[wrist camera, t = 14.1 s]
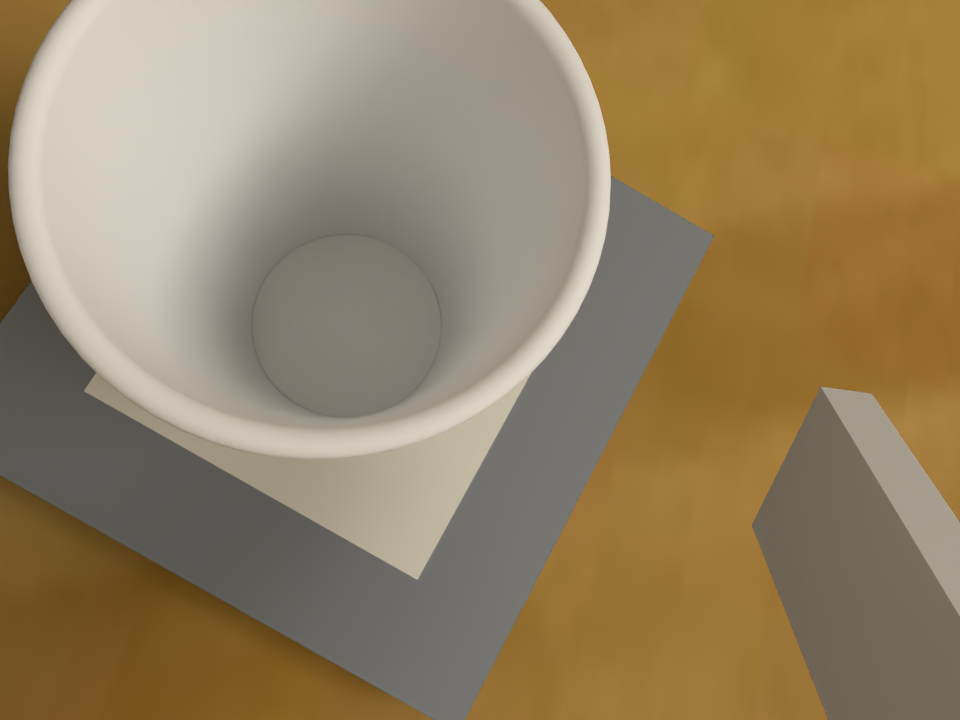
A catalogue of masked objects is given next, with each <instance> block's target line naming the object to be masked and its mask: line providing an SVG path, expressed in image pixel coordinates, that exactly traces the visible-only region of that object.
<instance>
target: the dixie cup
mask: <svg viewBox="0 0 960 720" xmlns="http://www.w3.org/2000/svg"><path fill="white" fill-rule="evenodd" d="M8 183H9V198H10V205H11V212H12V219H13V225H14V228H15V232H16V236H17V240H18V244H19V248H20V252H21V254H22V257H23V259H24V262H25V265H26V267H27V270H28V273H29V275H30V278H31V281H32V283H33V285H34V287H35V289H36V291H37V293H38V295H39V297H40V299H41V301H42V303H43V304H44V306H45V308H46V310H47V312H48V313H49V315H50V316H51V318H52V319H53V321H54V322H55V324H56V325H57V327H58V328H59V330H60V332H61V333H62V335H63V336H64V337H65V338H66V339H67V341H68V342H69V343H70V344H71V346H72V347H73V348H74V349H75V350H76V352H77V353H78V354H79V355H80V357H81V358H82V359H83V360H84V361H85V362H86V363H87V364H88V365H89V366H90V367H91V368H92V369H93V370H94V371H95V372H96V373H97V374H98V375H99V376H100V377H101V378H102V379H103V380H104V381H106V382H107V383H108V384H109V385H111V386H112V387H113V388H114V389H116V390H117V391H118V392H119V393H121V394H122V395H123V396H124V397H126V398H127V399H128V400H130V401H131V402H133V403H134V404H136V405H137V406H139V407H140V408H142V409H143V410H145V411H146V412H148V413H150V414H151V415H153V416H154V417H156V418H158V419H160V420H162V421H164V422H166V423H168V424H170V425H172V426H173V427H175V428H177V429H179V430H181V431H183V432H186V433H188V434H191V435H193V436H196V437H199V438H201V439H204V440H206V441H209V442H211V443H214V444H218V445H221V446H225V447H228V448H232V449H235V450H239V451H243V452H248V453H254V454H259V455H265V456H270V457H278V458H290V459H302V460H318V459H343V458H352V457H361V456H368V455H373V454H378V453H382V452H387V451H392V450H397V449H400V448H403V447H406V446H409V445H412V444H416V443H419V442H422V441H425V440H428V439H430V438H432V437H435V436H437V435H439V434H442V433H444V432H446V431H449V430H451V429H453V428H455V427H457V426H459V425H461V424H462V423H464V422H466V421H468V420H470V419H472V418H473V417H475V416H477V415H479V414H480V413H482V412H483V411H485V410H486V409H488V408H489V407H491V406H492V405H493V404H495V403H496V402H498V401H499V400H501V399H502V398H504V397H505V396H506V395H507V394H508V393H509V392H511V391H512V390H513V389H514V388H515V387H517V386H518V385H519V384H520V383H521V382H522V381H524V380H525V379H526V378H527V377H528V376H529V375H530V374H531V373H532V372H533V371H534V370H535V368H536V367H537V366H538V365H539V364H540V363H541V362H542V361H543V360H544V359H545V358H546V357H547V355H548V354H549V353H550V352H551V350H552V349H553V348H554V347H555V345H556V344H557V343H558V341H559V340H560V339H561V338H562V336H563V335H564V333H565V332H566V330H567V328H568V327H569V325H570V324H571V322H572V320H573V319H574V317H575V316H576V314H577V312H578V310H579V308H580V306H581V304H582V302H583V300H584V298H585V296H586V294H587V292H588V290H589V288H590V285H591V282H592V280H593V277H594V274H595V272H596V269H597V266H598V264H599V260H600V256H601V252H602V248H603V245H604V241H605V236H606V230H607V223H608V217H609V209H610V189H611V175H610V156H609V149H608V142H607V136H606V130H605V126H604V122H603V118H602V114H601V110H600V106H599V103H598V100H597V97H596V94H595V92H594V89H593V86H592V83H591V80H590V78H589V76H588V74H587V72H586V70H585V68H584V65H583V63H582V61H581V59H580V57H579V55H578V53H577V52H576V50H575V48H574V47H573V45H572V43H571V42H570V40H569V38H568V37H567V35H566V33H565V32H564V30H563V29H562V28H561V26H560V25H559V24H558V22H557V21H556V19H555V18H554V17H553V15H552V14H551V13H550V11H549V10H548V9H547V8H546V7H545V6H544V4H543V3H542V2H541V1H540V0H71V1H70V2H69V4H68V5H67V6H66V7H65V8H64V10H63V11H62V13H61V14H60V15H59V17H58V18H57V20H56V21H55V22H54V24H53V25H52V27H51V28H50V29H49V31H48V33H47V35H46V36H45V38H44V40H43V42H42V44H41V45H40V47H39V49H38V51H37V52H36V54H35V56H34V59H33V61H32V63H31V66H30V68H29V70H28V73H27V75H26V77H25V80H24V82H23V86H22V89H21V92H20V95H19V99H18V102H17V105H16V108H15V114H14V119H13V124H12V129H11V135H10V145H9V158H8Z"/></svg>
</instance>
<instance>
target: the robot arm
mask: <svg viewBox="0 0 960 720" xmlns="http://www.w3.org/2000/svg"><path fill="white" fill-rule="evenodd" d="M752 527H753V529H754V532H755V535H756V537H757V540H758V542H759V545H760V547H761V550H762V552H763V555H764V557H765V560H766V563H767V565H768V568H769V570H770V573H771V575H772V578H773V580H774V583H775V585H776V588H777V591H778V593H779V596H780V598H781V601H782V603H783V606H784V608H785V611H786V613H787V616H788V619H789V621H790V624H791V626H792V629H793V631H794V634H795V636H796V639H797V642H798V644H799V647H800V649H801V652H802V654H803V657H804V659H805V662H806V664H807V667H808V670H809V672H810V675H811V677H812V680H813V682H814V685H815V687H816V690H817V692H818V695H819V698H820V700H821V703H822V705H823V708H824V710H825V713H826V715H827V718H828V720H960V522H959V521H958V519H957V518H956V516H955V515H954V513H953V512H952V510H951V509H950V507H949V506H948V504H947V503H946V502H945V500H944V499H943V497H942V496H941V494H940V493H939V491H938V490H937V488H936V487H935V485H934V484H933V483H932V481H931V480H930V478H929V477H928V475H927V474H926V472H925V471H924V469H923V468H922V467H921V465H920V464H919V462H918V461H917V459H916V458H915V456H914V455H913V453H912V452H911V450H910V449H909V448H908V446H907V445H906V443H905V442H904V440H903V439H902V437H901V436H900V434H899V433H898V431H897V430H896V429H895V427H894V426H893V424H892V423H891V421H890V420H889V418H888V417H887V415H886V414H885V412H884V411H883V410H882V408H881V407H880V405H879V404H878V402H877V401H876V399H875V398H874V396H873V395H872V394H869V393H862V392H855V391H848V390H841V389H834V388H826V387H820V389H819V391H818V393H817V395H816V397H815V399H814V401H813V403H812V405H811V407H810V409H809V411H808V414H807V416H806V418H805V420H804V422H803V424H802V426H801V428H800V430H799V432H798V434H797V436H796V438H795V440H794V442H793V444H792V446H791V448H790V450H789V452H788V454H787V456H786V458H785V460H784V462H783V464H782V466H781V468H780V470H779V472H778V474H777V476H776V478H775V480H774V482H773V484H772V486H771V488H770V490H769V492H768V494H767V496H766V498H765V500H764V502H763V504H762V506H761V508H760V510H759V512H758V514H757V516H756V518H755V520H754V522H753V524H752Z"/></svg>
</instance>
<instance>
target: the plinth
mask: <svg viewBox="0 0 960 720" xmlns="http://www.w3.org/2000/svg"><path fill="white" fill-rule="evenodd" d="M713 237H714V235H712V234H710V233H708V232H707V231H705V230H703V229H701V228H700V227H698V226H696V225H695V224H693V223H691V222H689V221H688V220H686V219H684V218H683V217H681V216H679V215H677V214H676V213H674V212H672V211H670V210H669V209H667V208H665V207H664V206H662V205H660V204H658V203H657V202H655V201H653V200H652V199H650V198H648V197H646V196H645V195H643V194H641V193H639V192H638V191H636V190H634V189H633V188H631V187H629V186H627V185H626V184H624V183H622V182H621V181H619V180H617V179H615V178H614V177H612V176H611V189H610V209H609V217H608V223H607V230H606V236H605V241H604V245H603V248H602V252H601V256H600V260H599V264H598V266H597V269H596V272H595V274H594V277H593V280H592V282H591V285H590V288H589V290H588V292H587V294H586V296H585V298H584V300H583V302H582V304H581V306H580V308H579V310H578V312H577V314H576V316H575V317H574V319H573V320H572V322H571V324H570V325H569V327H568V328H567V330H566V332H565V333H564V335H563V336H562V338H561V339H560V340H559V341H558V343H557V344H556V345H555V347H554V348H553V349H552V350H551V352H550V353H549V354H548V355H547V357H546V358H545V359H544V360H543V361H542V362H541V363H540V364H539V365H538V366H537V367H536V368H535V370H534V371H533V372H532V373H531V374H530V375H529V376H528V377H527V378H526V379H525V380H524V381H522V382H521V383H520V384H519V385H518V386H517V387H515V388H514V389H513V390H512V391H511V392H509V393H508V394H507V395H506V396H505V397H504V398H502V399H501V400H499V401H498V402H496V403H495V404H493V405H492V406H491V407H489V408H488V409H486V410H485V411H483V412H482V413H480V414H479V415H477V416H475V417H473V418H472V419H470V420H468V421H466V422H464V423H462V424H461V425H459V426H457V427H455V428H453V429H451V430H449V431H446V432H444V433H442V434H439V435H437V436H435V437H432V438H430V439H428V440H425V441H422V442H419V443H416V444H412V445H409V446H406V447H403V448H400V449H397V450H392V451H387V452H382V453H378V454H373V455H368V456H361V457H352V458H343V459H318V460H302V459H290V458H278V457H270V456H265V455H259V454H254V453H248V452H243V451H239V450H235V449H232V448H228V447H225V446H221V445H218V444H214V443H211V442H209V441H206V440H204V439H201V438H199V437H196V436H193V435H191V434H188V433H186V432H183V431H181V430H179V429H177V428H175V427H173V426H172V425H170V424H168V423H166V422H164V421H162V420H160V419H158V418H156V417H154V416H153V415H151V414H150V413H148V412H146V411H145V410H143V409H142V408H140V407H139V406H137V405H136V404H134V403H133V402H131V401H130V400H128V399H127V398H126V397H124V396H123V395H122V394H121V393H119V392H118V391H117V390H116V389H114V388H113V387H112V386H111V385H109V384H108V383H107V382H106V381H104V380H103V379H102V378H101V377H100V376H99V375H98V374H97V373H96V372H95V371H94V370H93V369H92V368H91V367H90V366H89V365H88V364H87V363H86V362H85V361H84V360H83V359H82V358H81V357H80V355H79V354H78V353H77V352H76V350H75V349H74V348H73V347H72V346H71V344H70V343H69V342H68V341H67V339H66V338H65V337H64V336H63V335H62V333H61V332H60V330H59V328H58V327H57V325H56V324H55V322H54V321H53V319H52V318H51V316H50V315H49V313H48V312H47V310H46V308H45V306H44V304H43V303H42V301H41V299H40V297H39V295H38V293H37V291H36V289H35V287H34V285H33V283H32V281H31V282H30V283H29V284H28V286H27V287H26V288H25V290H24V291H23V293H22V294H21V295H20V297H19V298H18V300H17V301H16V302H15V304H14V305H13V306H12V308H11V309H10V311H9V312H8V313H7V315H6V316H5V318H4V319H3V320H2V322H1V323H0V476H2V477H4V478H6V479H7V480H9V481H11V482H13V483H15V484H16V485H18V486H20V487H22V488H23V489H25V490H27V491H29V492H31V493H32V494H34V495H36V496H38V497H39V498H41V499H43V500H45V501H47V502H48V503H50V504H52V505H54V506H55V507H57V508H59V509H61V510H63V511H64V512H66V513H68V514H70V515H71V516H73V517H75V518H77V519H79V520H80V521H82V522H84V523H86V524H87V525H89V526H91V527H93V528H95V529H96V530H98V531H100V532H102V533H103V534H105V535H107V536H109V537H111V538H112V539H114V540H116V541H118V542H119V543H121V544H123V545H125V546H127V547H128V548H130V549H132V550H134V551H135V552H137V553H139V554H141V555H143V556H144V557H146V558H148V559H150V560H151V561H153V562H155V563H157V564H159V565H160V566H162V567H164V568H166V569H167V570H169V571H171V572H173V573H174V574H176V575H178V576H180V577H182V578H183V579H185V580H187V581H189V582H190V583H192V584H194V585H196V586H198V587H199V588H201V589H203V590H205V591H206V592H208V593H210V594H212V595H214V596H215V597H217V598H219V599H221V600H222V601H224V602H226V603H228V604H230V605H231V606H233V607H235V608H237V609H238V610H240V611H242V612H244V613H246V614H247V615H249V616H251V617H253V618H254V619H256V620H258V621H260V622H262V623H263V624H265V625H267V626H269V627H270V628H272V629H274V630H276V631H278V632H279V633H281V634H283V635H285V636H286V637H288V638H290V639H292V640H294V641H295V642H297V643H299V644H301V645H302V646H304V647H306V648H308V649H310V650H311V651H313V652H315V653H317V654H318V655H320V656H322V657H324V658H326V659H327V660H329V661H331V662H333V663H334V664H336V665H338V666H340V667H342V668H343V669H345V670H347V671H349V672H350V673H352V674H354V675H356V676H358V677H359V678H361V679H363V680H365V681H366V682H368V683H370V684H372V685H374V686H375V687H377V688H379V689H381V690H382V691H384V692H386V693H388V694H390V695H391V696H393V697H395V698H397V699H398V700H400V701H402V702H404V703H406V704H407V705H409V706H411V707H413V708H414V709H416V710H418V711H420V712H422V713H423V714H425V715H427V716H429V717H430V718H432V719H434V720H465V718H466V716H467V714H468V712H469V710H470V708H471V706H472V704H473V703H474V701H475V699H476V697H477V695H478V693H479V691H480V689H481V687H482V685H483V683H484V681H485V679H486V677H487V675H488V673H489V672H490V670H491V668H492V666H493V664H494V662H495V660H496V658H497V656H498V654H499V652H500V650H501V648H502V646H503V644H504V642H505V640H506V639H507V637H508V635H509V633H510V631H511V629H512V627H513V625H514V623H515V621H516V619H517V617H518V615H519V613H520V611H521V609H522V607H523V606H524V604H525V602H526V600H527V598H528V596H529V594H530V592H531V590H532V588H533V586H534V584H535V582H536V580H537V578H538V576H539V575H540V573H541V571H542V569H543V567H544V565H545V563H546V561H547V559H548V557H549V555H550V553H551V551H552V549H553V547H554V545H555V543H556V542H557V540H558V538H559V536H560V534H561V532H562V530H563V528H564V526H565V524H566V522H567V520H568V518H569V516H570V514H571V512H572V511H573V509H574V507H575V505H576V503H577V501H578V499H579V497H580V495H581V493H582V491H583V489H584V487H585V485H586V483H587V481H588V479H589V478H590V476H591V474H592V472H593V470H594V468H595V466H596V464H597V462H598V460H599V458H600V456H601V454H602V452H603V450H604V448H605V447H606V445H607V443H608V441H609V439H610V437H611V435H612V433H613V431H614V429H615V427H616V425H617V423H618V421H619V419H620V417H621V415H622V414H623V412H624V410H625V408H626V406H627V404H628V402H629V400H630V398H631V396H632V394H633V392H634V390H635V388H636V386H637V384H638V383H639V381H640V379H641V377H642V375H643V373H644V371H645V369H646V367H647V365H648V363H649V361H650V359H651V357H652V355H653V353H654V351H655V350H656V348H657V346H658V344H659V342H660V340H661V338H662V336H663V334H664V332H665V330H666V328H667V326H668V324H669V322H670V320H671V318H672V317H673V315H674V313H675V311H676V309H677V307H678V305H679V303H680V301H681V299H682V297H683V295H684V293H685V291H686V289H687V287H688V286H689V284H690V282H691V280H692V278H693V276H694V274H695V272H696V270H697V268H698V266H699V264H700V262H701V260H702V258H703V256H704V254H705V253H706V251H707V249H708V247H709V245H710V243H711V241H712V239H713Z"/></svg>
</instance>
